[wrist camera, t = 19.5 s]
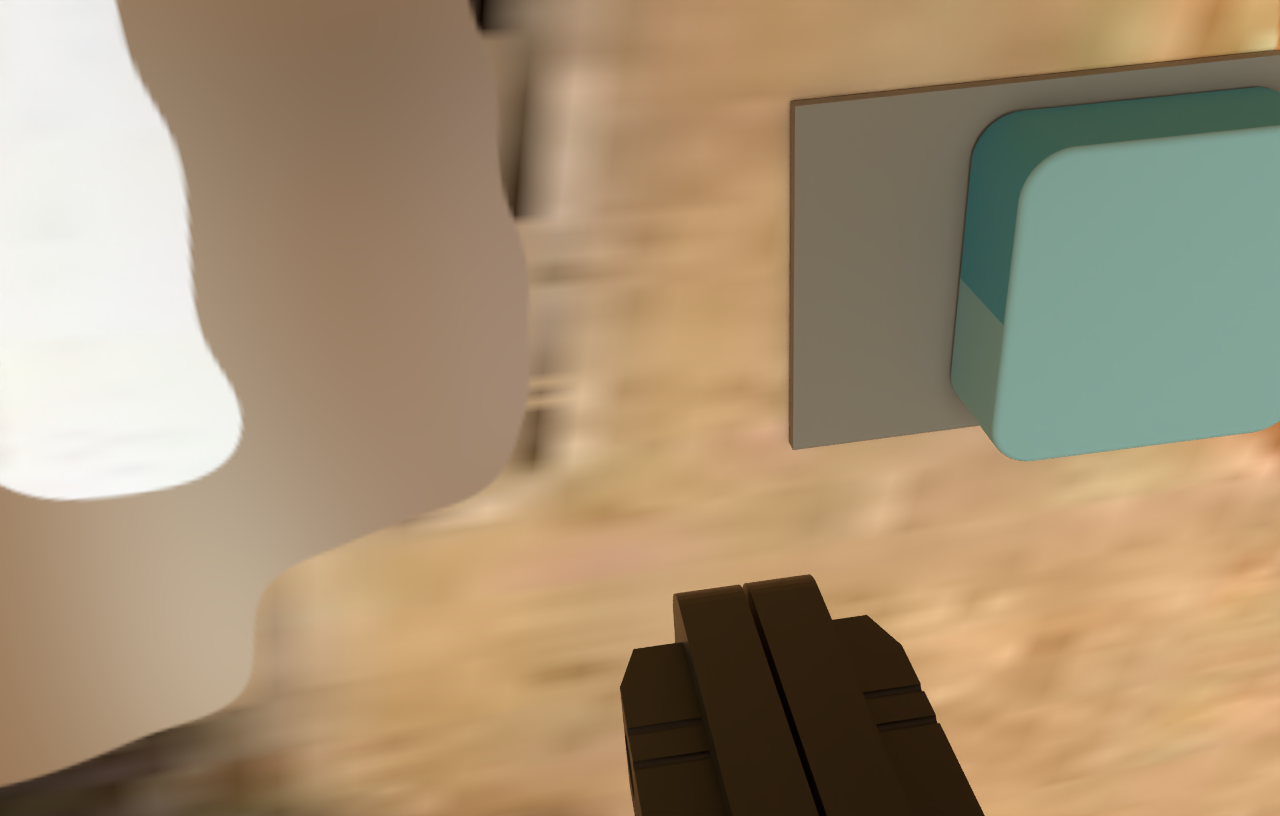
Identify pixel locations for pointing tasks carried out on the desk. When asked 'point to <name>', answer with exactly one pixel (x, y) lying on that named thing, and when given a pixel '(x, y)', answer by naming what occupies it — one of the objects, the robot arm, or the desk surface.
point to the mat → (915, 235)
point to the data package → (1122, 274)
